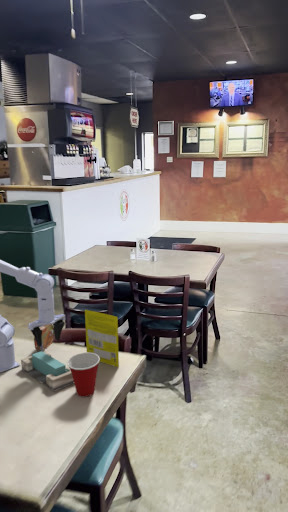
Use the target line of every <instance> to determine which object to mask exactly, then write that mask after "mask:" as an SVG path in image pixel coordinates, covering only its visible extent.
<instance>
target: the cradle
mask: <svg viewBox="0 0 288 512" xmlns="http://www.w3.org/2000/svg"><path fill="white" fill-rule="evenodd" d="M43 352H44V353H46V354H47V355H49V356H51V357H52V355H51V354H50V353H49V352H47V351H46V350H45V351H43ZM20 363H21V365H20V366H21V370H22V371H24V372H25V373H26V374H28V375H29V376H31V377H32V378H33V379H35V380H37V381H38V382H40V383H41V384H43V385H44V386H46V387H47V388H49V389H50V390H52V391H53V392H57V391H58V390H60V389H63V388H65V387H67V386H70V385H72V384H74V380H73V376H72V372H71V370H70V368H69V366H67V367H66V373H64V374H62V375H59V376H57V377H55V376H54V375H52V374H49V375H47V376H46V375H45V374H43V373H41V372H40V371H38V370H37V369H35V368H34V367H33V362H32V355H30V356H27V357H24V358H21V359H20Z"/></svg>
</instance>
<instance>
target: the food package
mask: <svg viewBox="0 0 288 512" xmlns="http://www.w3.org/2000/svg"><path fill="white" fill-rule="evenodd" d="M84 318H85V320H84V321H85V322H84V323H85V341H86V343H85V344H86V347H85V348H86V353H94V354H97V355H98V356H99V357H100V361H99V363H103V364H107V365H109V366H113V367H117V368H120V364H119V363H120V361H119V358H120V357H119V324H118V322H119V321H118V320H119V318H118V316H115V315H111V314H107V313H104V312H103V313H102V312H98V311H93V310H88V309H84Z"/></svg>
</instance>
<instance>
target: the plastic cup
mask: <svg viewBox="0 0 288 512" xmlns="http://www.w3.org/2000/svg"><path fill="white" fill-rule="evenodd" d="M99 361H100V357H99V356H98V355H97V354H94V353H87V351H86V352H80V353H76V354H73V355H72V356H70V357H69V358H68V360H67V361H66V363H67V367H69V368H70V370H71V372H72V376H73V380H74V383H73V384H74V386H75V392H76V395H77V396H79V397H84V398H85V397H90V396H92V395H93V394H94V393H95V389H96V383H97V376H98V375H97V374H98V368H99V363H100V362H99Z"/></svg>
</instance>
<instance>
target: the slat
mask: <svg viewBox="0 0 288 512" xmlns="http://www.w3.org/2000/svg"><path fill="white" fill-rule="evenodd" d="M31 356H32V362H33V367H34V368H35V369H37V370H38V371H40V372H41V373H43V374H45V375H46V376H47V375H49V374H52V375H54V376H55V377H57V376H59V375H62V374H64V373H66V368H67V367H66V364H65V363H64V362H61V361H59V360H58V359H56V358H54V357H53V356H52V355H51V356H49V355H47V354H46V353H44V351H37V352H35V353H32V354H31Z"/></svg>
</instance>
